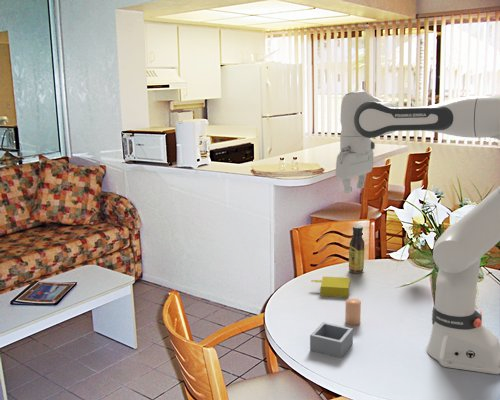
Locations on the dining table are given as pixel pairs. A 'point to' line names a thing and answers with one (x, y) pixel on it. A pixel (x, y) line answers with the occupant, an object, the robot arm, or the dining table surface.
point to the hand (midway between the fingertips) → (354, 190)
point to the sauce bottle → (356, 251)
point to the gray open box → (331, 339)
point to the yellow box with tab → (334, 286)
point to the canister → (353, 312)
